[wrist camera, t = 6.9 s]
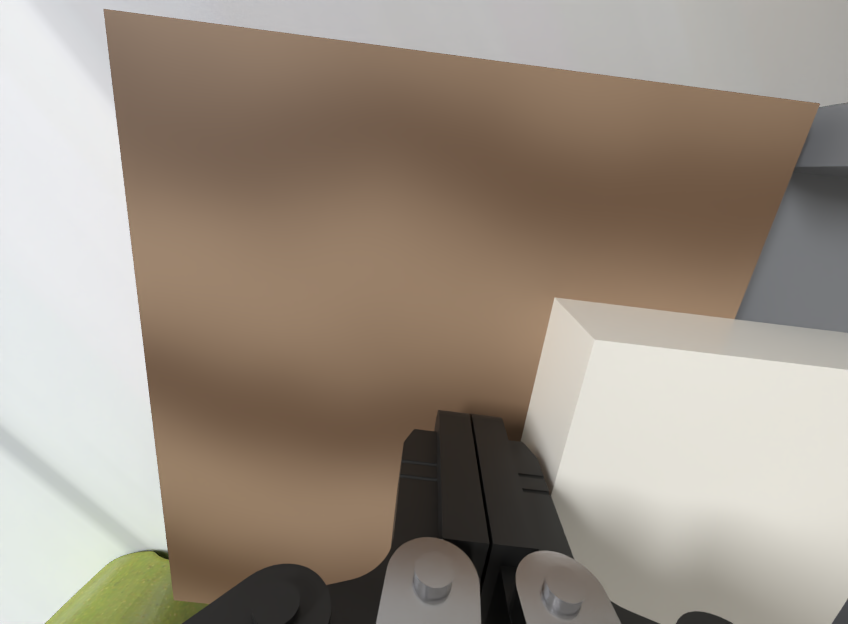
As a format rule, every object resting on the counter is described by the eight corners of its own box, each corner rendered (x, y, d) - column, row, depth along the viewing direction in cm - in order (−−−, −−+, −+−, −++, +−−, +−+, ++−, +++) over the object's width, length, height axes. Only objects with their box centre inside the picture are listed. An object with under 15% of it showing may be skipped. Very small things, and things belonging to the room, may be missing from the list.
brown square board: (180, 46, 10) (103, 8, 8) (732, 118, 10) (820, 103, 8) (213, 534, 15) (173, 600, 13) (578, 574, 16) (604, 645, 13)
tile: (554, 297, 9) (595, 339, 7) (849, 332, 10) (986, 386, 7) (500, 527, 12) (516, 618, 9) (738, 554, 12) (813, 649, 9)
